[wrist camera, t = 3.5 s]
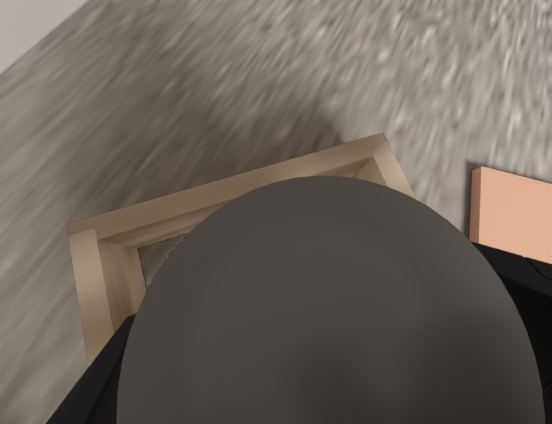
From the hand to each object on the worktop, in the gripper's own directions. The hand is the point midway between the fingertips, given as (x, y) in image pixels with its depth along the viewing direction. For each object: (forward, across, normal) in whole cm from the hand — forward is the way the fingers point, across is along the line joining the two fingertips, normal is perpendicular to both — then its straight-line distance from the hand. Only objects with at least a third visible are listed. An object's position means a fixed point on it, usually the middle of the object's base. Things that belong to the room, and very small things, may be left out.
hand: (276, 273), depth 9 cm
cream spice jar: (+4, 0, +6) cm, 7 cm away
